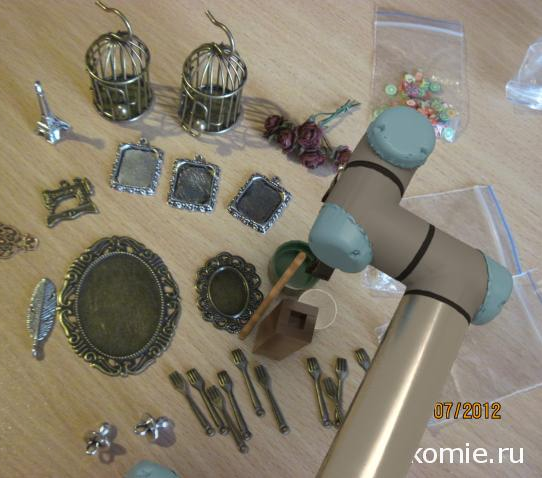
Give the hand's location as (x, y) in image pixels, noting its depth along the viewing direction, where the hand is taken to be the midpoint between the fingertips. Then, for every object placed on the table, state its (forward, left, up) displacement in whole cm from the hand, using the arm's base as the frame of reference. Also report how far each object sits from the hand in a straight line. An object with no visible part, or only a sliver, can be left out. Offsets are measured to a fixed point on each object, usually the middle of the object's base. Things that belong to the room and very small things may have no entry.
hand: (320, 236), depth 96 cm
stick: (-8, +3, -19) cm, 21 cm away
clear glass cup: (-9, -5, -24) cm, 26 cm away
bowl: (0, 0, -24) cm, 24 cm away
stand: (-16, +1, -24) cm, 29 cm away
